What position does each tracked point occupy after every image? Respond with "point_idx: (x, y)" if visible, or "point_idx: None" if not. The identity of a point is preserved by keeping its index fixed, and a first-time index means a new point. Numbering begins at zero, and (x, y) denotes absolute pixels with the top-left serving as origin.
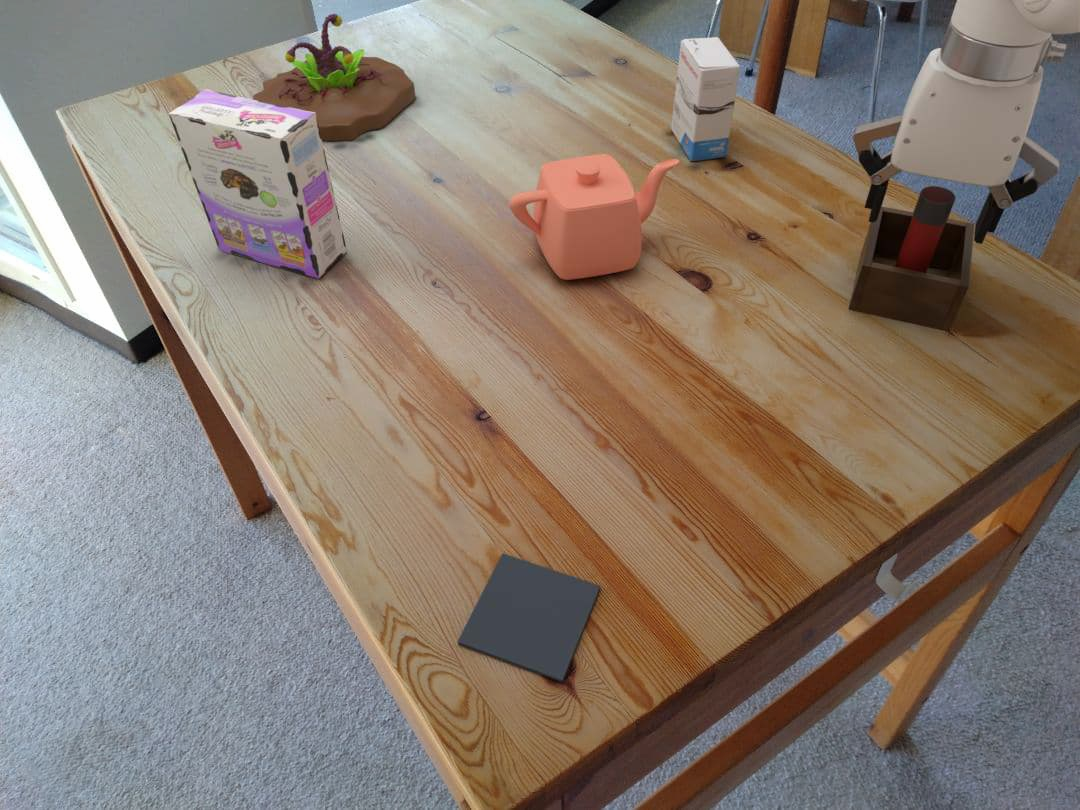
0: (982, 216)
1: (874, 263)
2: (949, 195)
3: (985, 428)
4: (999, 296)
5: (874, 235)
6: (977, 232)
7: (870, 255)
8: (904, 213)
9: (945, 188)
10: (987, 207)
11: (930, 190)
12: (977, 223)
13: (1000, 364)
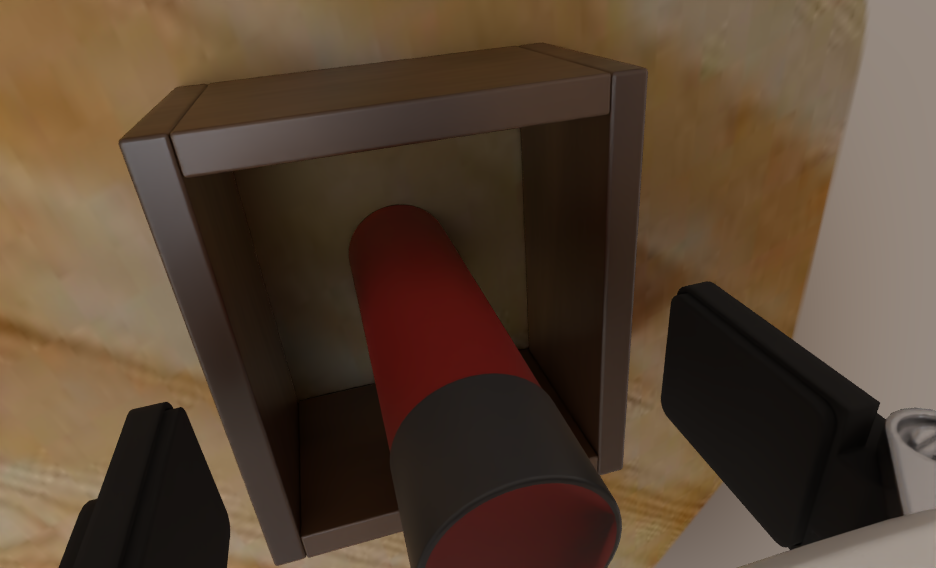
0: (730, 431)
1: (312, 542)
2: (588, 528)
3: (625, 549)
4: (673, 141)
5: (239, 401)
6: (685, 425)
7: (280, 514)
8: (304, 151)
9: (560, 481)
10: (778, 504)
11: (471, 551)
12: (688, 339)
13: (658, 397)
